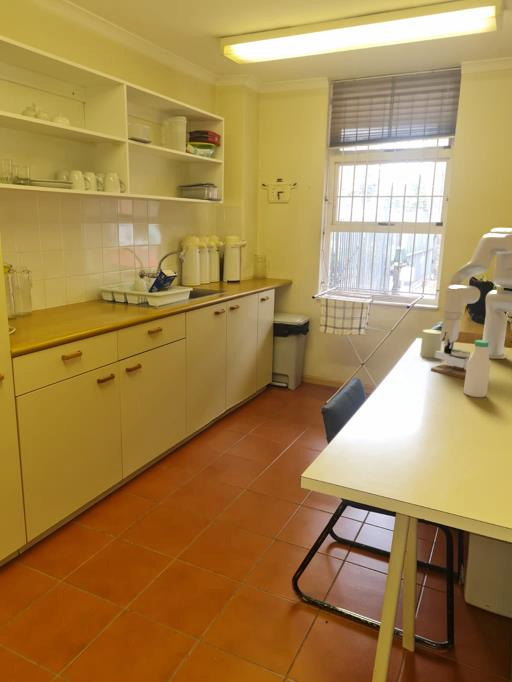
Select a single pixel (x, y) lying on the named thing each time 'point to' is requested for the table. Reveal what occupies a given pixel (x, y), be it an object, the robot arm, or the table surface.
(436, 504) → the table surface
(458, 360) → the coupling
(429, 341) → the can
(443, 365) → the post base
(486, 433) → the table surface
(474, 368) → the milk bottle
